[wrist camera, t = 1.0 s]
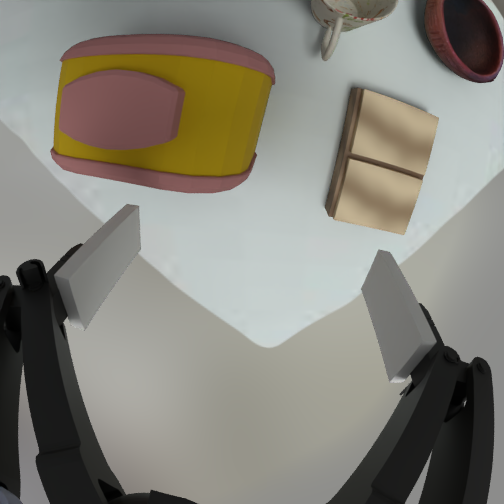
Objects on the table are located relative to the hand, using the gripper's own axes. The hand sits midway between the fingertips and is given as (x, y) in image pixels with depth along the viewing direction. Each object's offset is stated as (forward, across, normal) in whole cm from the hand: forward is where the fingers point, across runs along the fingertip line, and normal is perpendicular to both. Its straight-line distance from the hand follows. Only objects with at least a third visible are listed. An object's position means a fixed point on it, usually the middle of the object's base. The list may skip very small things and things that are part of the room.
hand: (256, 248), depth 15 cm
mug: (+23, +5, +19) cm, 30 cm away
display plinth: (+22, +14, +3) cm, 26 cm away
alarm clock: (+22, -10, +6) cm, 25 cm away
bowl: (+23, +19, +25) cm, 39 cm away
